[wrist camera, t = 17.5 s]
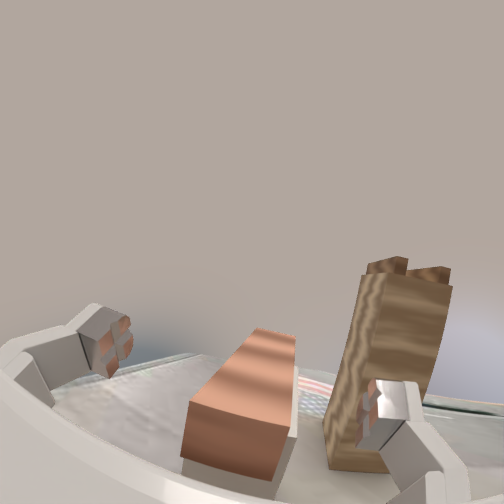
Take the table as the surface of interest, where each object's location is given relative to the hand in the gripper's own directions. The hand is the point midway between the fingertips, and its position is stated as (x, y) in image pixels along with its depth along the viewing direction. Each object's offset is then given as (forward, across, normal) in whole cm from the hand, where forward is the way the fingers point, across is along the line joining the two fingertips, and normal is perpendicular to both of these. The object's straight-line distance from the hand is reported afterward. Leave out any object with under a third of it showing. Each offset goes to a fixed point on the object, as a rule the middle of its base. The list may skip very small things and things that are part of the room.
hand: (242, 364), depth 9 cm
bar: (+7, 0, +10) cm, 13 cm away
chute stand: (+18, -16, +33) cm, 41 cm away
